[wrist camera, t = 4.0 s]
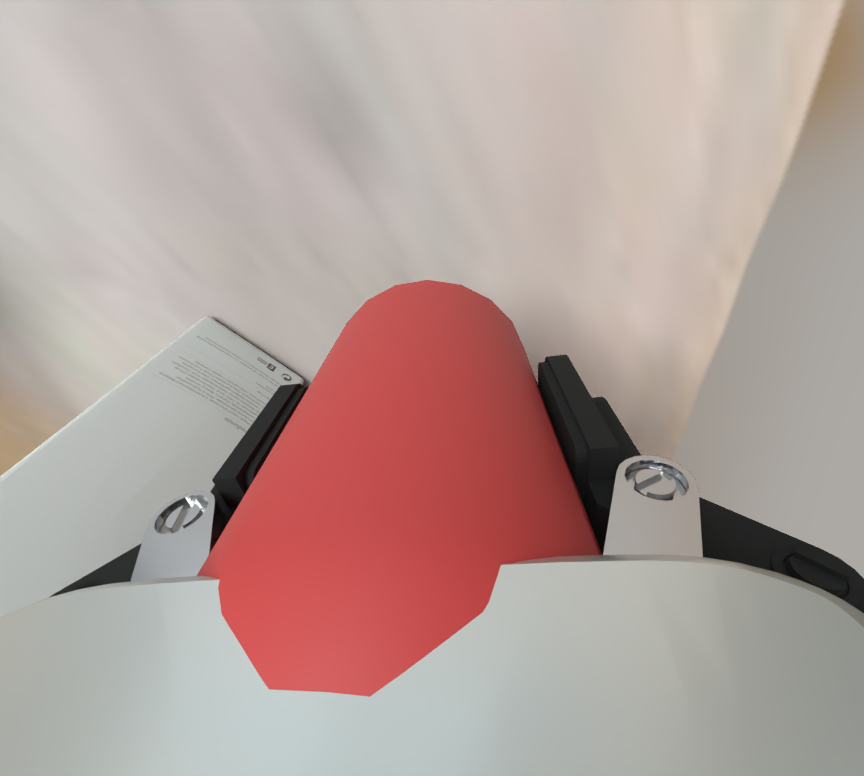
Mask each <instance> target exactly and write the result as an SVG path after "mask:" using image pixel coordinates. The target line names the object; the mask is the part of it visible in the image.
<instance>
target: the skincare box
mask: <svg viewBox="0 0 864 776" xmlns="http://www.w3.org/2000/svg"><path fill="white" fill-rule="evenodd" d="M303 382H304V380H303V379H302V378H301V377H300V376H298V375H297V374H295V373H294V372H292V371H291V370H289V369H288V368H286V367H285V366H284V365H282V364H281V363H279V362H278V361H276V360H275V359H273V358H272V357H270V356H269V355H267V354H266V353H264V352H263V351H261V350H260V349H258V348H257V347H255V346H254V345H252V344H251V343H249V342H248V341H246V340H244V339H243V338H241V337H240V336H238V335H237V334H235V333H234V332H232V331H231V330H229V329H228V328H226V327H225V326H223V325H222V324H220V323H218V322H217V321H215V320H214V319H212V318H210V317H209V316H205V317H203V318H202V319H201V320H199V321H198V322H197V323H195V324H194V325H193V326H192V327H191V328H189V329H188V330H187V331H185V332H184V333H183V334H182V335H180V336H179V337H178V338H177V339H175V340H174V341H173V342H171V343H170V344H169V345H168V346H166V347H165V348H164V349H163V350H161V351H160V352H159V353H157V354H156V355H155V356H154V357H152V358H151V359H150V360H149V361H147V362H146V363H145V364H144V365H142V366H141V367H140V368H139V369H137V370H136V371H135V372H133V373H132V374H131V375H130V376H128V377H127V378H126V379H124V380H123V381H122V382H121V383H119V384H118V385H117V386H115V387H114V388H113V389H112V390H110V391H109V392H108V393H106V394H105V395H104V396H103V397H101V398H100V399H99V400H98V401H97V402H95V403H94V404H93V405H91V406H90V407H89V408H87V409H86V410H85V411H83V412H82V413H81V414H80V415H78V416H77V417H76V418H75V419H73V420H72V421H71V422H69V423H68V424H67V425H66V426H64V427H63V428H62V429H60V430H59V431H58V432H56V433H55V434H54V435H53V436H51V437H50V438H49V439H48V440H46V441H45V442H44V443H43V444H41V445H40V446H39V447H37V448H36V449H35V450H34V451H32V452H31V453H30V454H28V455H27V456H26V457H25V458H23V459H22V460H21V461H20V462H18V463H17V464H16V465H14V466H13V467H12V468H11V469H9V470H8V471H7V472H5V473H4V474H3V475H2V476H0V617H1V616H3V615H6V614H8V613H10V612H12V611H14V610H17V609H19V608H22V607H25V606H27V605H30V604H33V603H35V602H38V601H41V600H43V599H46V598H49V597H50V596H51V595H53V594H55V593H56V592H58V591H60V590H62V589H63V588H65V587H67V586H68V585H70V584H72V583H74V582H75V581H77V580H79V579H81V578H82V577H84V576H86V575H87V574H89V573H91V572H93V571H94V570H96V569H98V568H100V567H101V566H103V565H105V564H106V563H108V562H110V561H112V560H113V559H115V558H117V557H119V556H120V555H122V554H124V553H126V552H127V551H129V550H131V549H132V548H134V547H136V546H138V545H139V544H141V543H142V541H143V538H144V534H145V531H146V528H147V525H148V523H149V521H150V519H151V518H152V517H153V515H154V514H155V513H156V512H157V511H158V510H159V509H160V508H161V507H163V506H164V505H165V504H166V503H168V502H170V501H171V500H173V499H174V498H176V497H178V496H181V495H183V494H185V493H189V492H193V491H200V490H205V491H208V492H210V491H211V490H212V488H213V487H214V485H215V484H214V483H213V481H212V479H213V478H214V476H215V475H216V473H217V472H218V471H219V469H220V468H221V467H222V465H223V464H224V462H225V461H226V460H227V458H228V457H229V455H230V454H231V453H232V451H233V450H234V449H235V447H236V446H237V444H238V443H239V442H240V440H241V439H242V438H243V436H244V435H245V433H246V432H247V431H248V429H249V428H250V427H251V425H252V424H253V422H254V421H255V420H256V418H257V417H258V415H259V414H260V413H261V411H262V410H263V409H264V407H265V406H266V404H267V403H268V402H269V400H270V399H271V398H272V396H273V395H274V393H275V392H276V391H277V389H278V388H279V387H280V386H281V385H290V384H299V383H300V384H303Z"/></svg>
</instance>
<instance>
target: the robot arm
mask: <svg viewBox="0 0 864 776" xmlns="http://www.w3.org/2000/svg"><path fill="white" fill-rule="evenodd" d="M538 387H539V389H540V392H541V394H542V397H543V400H544V402H545V405H546V408H547V410H548V413H549V416H550V418H551V421H552V423H553V426H554V429H555V431H556V434H557V437H558V439H559V442H560V445H561V447H562V450H563V452H564V455H565V458H566V460H567V463H568V466H569V468H570V471H571V474H572V476H573V479H574V481H575V484H576V486H577V489H578V492H579V494H580V497H581V500H582V502H583V505H584V507H585V510H586V513H587V515H588V518H589V521H590V523H591V526H592V528H593V531H594V534H595V536H596V539H597V542H598V544H599V547H600V550H601V552H602V555H585V556H558V557H549V558H541V559H532V560H525V561H519V562H514V563H508V564H503V565H501V567H500V570H499V573H498V576H497V579H496V582H495V585H494V588H493V591H492V594H491V597H490V600H489V603H488V605H487V606H486V608H485V609H484V611H483V612H482V613H481V614H480V615H479V616H477V617H476V618H475V619H473V620H472V621H471V622H469V623H468V624H467V625H466V626H464V627H463V628H462V629H460V630H459V631H458V632H457V633H455V634H454V635H453V636H451V637H450V638H449V639H447V640H446V641H445V642H443V643H442V644H441V645H439V646H438V647H437V648H435V649H434V650H433V651H432V652H430V653H429V654H428V655H426V656H425V657H424V658H422V659H421V660H420V661H418V662H417V663H416V664H414V665H413V666H412V667H410V668H409V669H408V670H406V671H405V672H404V673H402V674H401V675H400V676H398V677H397V678H395V679H394V680H393V681H391V682H390V683H388V684H387V685H386V686H384V687H383V688H381V689H380V690H379V691H377V692H376V693H374V694H373V695H371V696H370V697H368V696H359V695H349V694H339V693H330V692H312V691H291V690H269V689H268V687H267V686H266V684H265V683H264V682H263V680H262V679H261V677H260V676H259V674H258V672H257V671H256V669H255V668H254V666H253V664H252V663H251V661H250V659H249V658H248V656H247V655H246V653H245V651H244V650H243V648H242V647H241V645H240V643H239V642H238V640H237V638H236V637H235V635H234V634H233V632H232V630H231V629H230V627H229V625H228V624H227V622H226V620H225V619H224V617H223V616H222V613H221V605H220V598H219V590H218V587H219V581H220V579H216V578H213V577H209V576H197V574H198V572H199V571H200V569H201V567H202V566H203V564H204V562H205V561H206V559H207V557H208V556H209V554H210V552H211V551H212V549H213V547H214V546H215V544H216V542H217V541H218V539H219V537H220V536H221V534H222V532H223V531H224V529H225V527H226V525H227V524H228V522H229V520H230V519H231V517H232V515H233V514H234V512H235V510H236V509H237V507H238V505H239V504H240V502H241V500H242V499H243V497H244V495H245V494H246V492H247V490H248V489H249V487H250V485H251V484H252V482H253V480H254V478H255V477H256V475H257V473H258V472H259V470H260V468H261V467H262V465H263V463H264V462H265V460H266V458H267V457H268V455H269V453H270V452H271V450H272V448H273V447H274V445H275V443H276V442H277V440H278V438H279V436H280V435H281V433H282V431H283V430H284V428H285V426H286V425H287V423H288V421H289V420H290V418H291V416H292V415H293V413H294V411H295V410H296V408H297V406H298V405H299V403H300V401H301V400H302V398H303V396H304V395H305V393H306V391H307V389H308V388H307V387H306V388H304V387H303V385H302V384H300V383H299V384H290V385H281V386H280V387H279V388H278V389H277V391H276V392H275V393H274V395H273V396H272V398H271V399H270V400H269V402H268V403H267V404H266V406H265V407H264V409H263V410H262V411H261V413H260V414H259V415H258V417H257V418H256V420H255V421H254V422H253V424H252V425H251V427H250V428H249V429H248V431H247V432H246V433H245V435H244V436H243V438H242V439H241V440H240V442H239V443H238V444H237V446H236V447H235V449H234V450H233V451H232V453H231V454H230V455H229V457H228V458H227V460H226V461H225V462H224V464H223V465H222V467H221V468H220V469H219V471H218V472H217V473H216V475H215V476H214V478H213V479H212V481H213V483H214V484H215V485H214V487H213V488H212V490H211V491H210V492H208V491H205V490H200V491H193V492H189V493H185V494H183V495H181V496H178V497H176V498H174V499H173V500H171V501H170V502H168V503H166V504H165V505H164V506H163V507H161V508H160V509H159V510H158V511H157V512H156V513H155V514H154V515H153V517H152V518H151V519H150V521H149V523H148V525H147V528H146V531H145V534H144V538H143V541H142V543H141V544H139V545H138V546H136V547H134V548H132V549H131V550H129V551H127V552H126V553H124V554H122V555H120V556H119V557H117V558H115V559H113V560H112V561H110V562H108V563H106V564H105V565H103V566H101V567H100V568H98V569H96V570H94V571H93V572H91V573H89V574H87V575H86V576H84V577H82V578H81V579H79V580H77V581H75V582H74V583H72V584H70V585H68V586H67V587H65V588H63V589H62V590H60V591H58V592H56V593H55V594H53V595H51V596H50V597H49V598H46V599H43V600H41V601H38V602H35V603H33V604H30V605H27V606H25V607H22V608H19V609H17V610H14V611H12V612H10V613H8V614H6V615H3V616H1V617H0V776H864V579H863V578H862V577H861V576H860V575H859V574H858V572H856V570H855V569H853V568H852V567H851V566H849V565H848V564H846V563H845V562H844V561H842V560H841V559H839V558H838V557H835V556H834V555H832V554H830V553H828V552H826V551H824V550H822V549H820V548H817V547H815V546H813V545H810V544H808V543H806V542H803V541H801V540H799V539H796V538H794V537H792V536H789V535H787V534H785V533H782V532H780V531H778V530H775V529H773V528H771V527H768V526H766V525H763V524H761V523H759V522H756V521H754V520H752V519H749V518H747V517H745V516H742V515H740V514H738V513H735V512H733V511H731V510H728V509H726V508H724V507H721V506H719V505H717V504H714V503H712V502H709V501H707V500H705V499H702V498H700V497H699V490H698V489H699V488H698V485H697V482H696V479H695V478H694V477H693V476H692V474H691V473H690V472H689V471H688V470H687V469H685V468H684V467H682V466H681V465H680V464H678V463H675V462H673V461H671V460H669V459H665V458H662V457H658V456H648V455H642V456H641V455H640V453H639V452H638V450H637V448H636V447H635V445H634V444H633V442H632V440H631V439H630V437H629V436H628V434H627V432H626V431H625V429H624V428H623V426H622V424H621V423H620V421H619V420H618V418H617V416H616V415H615V413H614V412H613V410H612V408H611V407H610V405H609V404H608V402H607V401H606V399H605V398H603V397H596V398H591V396H590V394H589V392H588V391H587V389H586V387H585V385H584V384H583V382H582V380H581V378H580V377H579V375H578V373H577V371H576V370H575V368H574V366H573V364H572V363H571V361H570V359H569V358H568V356H567V355H560V356H551V357H546V358H545V362H542V363H539V364H538Z"/></svg>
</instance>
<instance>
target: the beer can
mask: <svg viewBox="0 0 864 776" xmlns="http://www.w3.org/2000/svg"><path fill="white" fill-rule="evenodd" d="M585 555H602V552H601V550H600V547H599V544H598V542H597V539H596V536H595V534H594V531H593V528H592V526H591V523H590V521H589V518H588V515H587V513H586V510H585V507H584V505H583V502H582V500H581V497H580V494H579V492H578V489H577V486H576V484H575V481H574V479H573V476H572V474H571V471H570V468H569V466H568V463H567V460H566V458H565V455H564V452H563V450H562V447H561V445H560V442H559V439H558V437H557V434H556V431H555V429H554V426H553V423H552V421H551V418H550V416H549V413H548V410H547V408H546V405H545V402H544V400H543V397H542V394H541V392H540V389H539V387H538V384H537V381H536V379H535V376H534V373H533V371H532V368H531V365H530V363H529V360H528V358H527V355H526V352H525V350H524V347H523V345H522V343H521V340H520V338H519V336H518V334H517V332H516V329H515V327H514V325H513V323H512V321H511V320H510V319H509V318H508V317H507V316H506V315H505V314H504V313H503V312H502V311H501V310H500V309H499V308H498V307H497V306H496V305H495V304H494V303H493V302H492V301H491V300H490V299H488V298H486V297H484V296H482V295H480V294H478V293H476V292H474V291H472V290H470V289H468V288H466V287H464V286H462V285H458V284H451V283H445V282H438V281H431V280H425V281H419V282H413V283H407V284H401V285H395V286H393V287H392V288H390V289H388V290H386V291H384V292H382V293H380V294H378V295H377V296H375V297H373V298H371V299H369V300H367V301H366V302H365V304H364V305H363V306H362V307H361V308H360V309H359V310H358V311H357V312H356V313H355V315H354V316H353V317H352V318H351V319H350V320H349V321H348V322H347V324H346V326H345V327H344V329H343V331H342V332H341V334H340V336H339V337H338V339H337V341H336V342H335V344H334V346H333V348H332V349H331V351H330V353H329V354H328V356H327V358H326V359H325V361H324V363H323V364H322V366H321V368H320V369H319V371H318V373H317V374H316V376H315V378H314V379H313V381H312V383H311V384H310V386H309V388H308V389H307V391H306V393H305V395H304V396H303V398H302V400H301V401H300V403H299V405H298V406H297V408H296V410H295V411H294V413H293V415H292V416H291V418H290V420H289V421H288V423H287V425H286V426H285V428H284V430H283V431H282V433H281V435H280V436H279V438H278V440H277V442H276V443H275V445H274V447H273V448H272V450H271V452H270V453H269V455H268V457H267V458H266V460H265V462H264V463H263V465H262V467H261V468H260V470H259V472H258V473H257V475H256V477H255V478H254V480H253V482H252V484H251V485H250V487H249V489H248V490H247V492H246V494H245V495H244V497H243V499H242V500H241V502H240V504H239V505H238V507H237V509H236V510H235V512H234V514H233V515H232V517H231V519H230V520H229V522H228V524H227V525H226V527H225V529H224V531H223V532H222V534H221V536H220V537H219V539H218V541H217V542H216V544H215V546H214V547H213V549H212V551H211V552H210V554H209V556H208V557H207V559H206V561H205V562H204V564H203V566H202V567H201V569H200V571H199V572H198V574H197V576H209V577H213V578H216V579H220V581H219V587H218V590H219V598H220V605H221V613H222V616H223V617H224V619H225V620H226V622H227V624H228V625H229V627H230V629H231V630H232V632H233V634H234V635H235V637H236V638H237V640H238V642H239V643H240V645H241V647H242V648H243V650H244V651H245V653H246V655H247V656H248V658H249V659H250V661H251V663H252V664H253V666H254V668H255V669H256V671H257V672H258V674H259V676H260V677H261V679H262V680H263V682H264V683H265V684H266V686H267V687H268V689H269V690H291V691H312V692H330V693H339V694H349V695H359V696H368V697H370V696H371V695H373V694H374V693H376V692H377V691H379V690H380V689H381V688H383V687H384V686H386V685H387V684H388V683H390V682H391V681H393V680H394V679H395V678H397V677H398V676H400V675H401V674H402V673H404V672H405V671H406V670H408V669H409V668H410V667H412V666H413V665H414V664H416V663H417V662H418V661H420V660H421V659H422V658H424V657H425V656H426V655H428V654H429V653H430V652H432V651H433V650H434V649H435V648H437V647H438V646H439V645H441V644H442V643H443V642H445V641H446V640H447V639H449V638H450V637H451V636H453V635H454V634H455V633H457V632H458V631H459V630H460V629H462V628H463V627H464V626H466V625H467V624H468V623H469V622H471V621H472V620H473V619H475V618H476V617H477V616H479V615H480V614H481V613H482V612H483V611H484V609H485V608H486V606H487V605H488V603H489V600H490V597H491V594H492V591H493V588H494V585H495V582H496V579H497V576H498V573H499V570H500V567H501V565H503V564H508V563H514V562H519V561H525V560H532V559H541V558H549V557H558V556H585Z"/></svg>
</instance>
